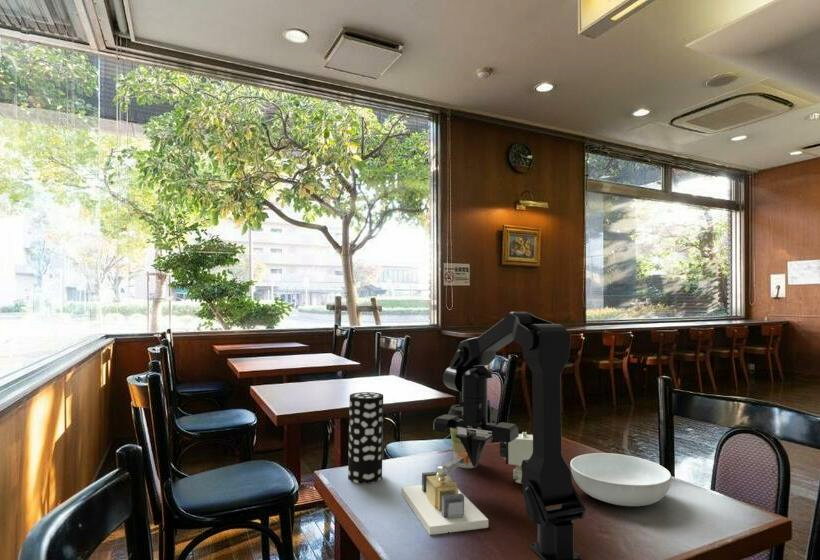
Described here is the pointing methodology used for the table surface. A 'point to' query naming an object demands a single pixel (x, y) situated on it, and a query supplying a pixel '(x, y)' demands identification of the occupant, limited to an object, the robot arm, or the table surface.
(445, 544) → the table surface
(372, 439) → the spotted tube
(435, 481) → the valve pipe run
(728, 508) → the table surface
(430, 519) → the base plate
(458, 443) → the coffee cup
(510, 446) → the pneumatic valve
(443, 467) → the valve lever
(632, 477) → the serving bowl
